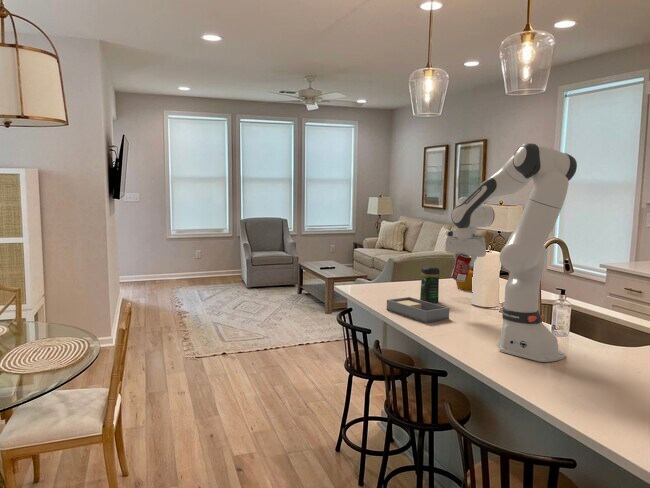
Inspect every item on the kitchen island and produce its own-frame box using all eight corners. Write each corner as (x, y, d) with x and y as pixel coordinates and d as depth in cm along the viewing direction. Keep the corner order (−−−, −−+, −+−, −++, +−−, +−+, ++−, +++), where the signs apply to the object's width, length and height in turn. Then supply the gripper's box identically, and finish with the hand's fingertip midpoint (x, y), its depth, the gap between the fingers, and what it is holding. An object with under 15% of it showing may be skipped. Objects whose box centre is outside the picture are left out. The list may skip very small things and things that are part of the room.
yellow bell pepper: (462, 289, 280) (463, 267, 279) (479, 292, 273) (480, 269, 271) (451, 291, 273) (452, 269, 272) (468, 295, 265) (469, 271, 264)
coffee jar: (440, 305, 239) (442, 267, 238) (425, 305, 238) (426, 267, 236) (432, 300, 249) (433, 264, 247) (417, 301, 247) (419, 264, 245)
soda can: (466, 284, 215) (473, 259, 210) (450, 280, 216) (457, 255, 211) (465, 278, 221) (472, 253, 217) (450, 274, 222) (457, 250, 218)
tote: (448, 319, 212) (449, 307, 211) (425, 323, 205) (426, 311, 204) (408, 307, 233) (409, 296, 233) (386, 310, 226) (386, 299, 226)
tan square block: (421, 310, 223) (421, 304, 223) (406, 312, 218) (406, 306, 218) (407, 306, 231) (408, 300, 230) (393, 308, 226) (393, 302, 226)
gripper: (490, 235, 207) (488, 267, 208) (453, 231, 224) (452, 261, 225) (479, 235, 203) (478, 268, 205) (443, 232, 220) (442, 262, 222)
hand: (464, 265), depth 215 cm, fingers closed on soda can, 6 cm apart
